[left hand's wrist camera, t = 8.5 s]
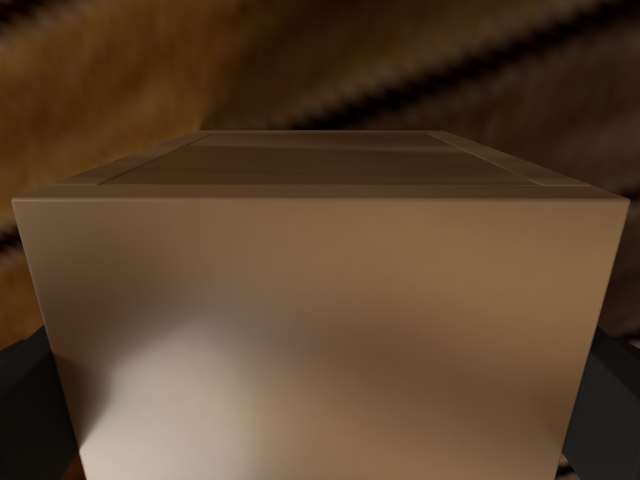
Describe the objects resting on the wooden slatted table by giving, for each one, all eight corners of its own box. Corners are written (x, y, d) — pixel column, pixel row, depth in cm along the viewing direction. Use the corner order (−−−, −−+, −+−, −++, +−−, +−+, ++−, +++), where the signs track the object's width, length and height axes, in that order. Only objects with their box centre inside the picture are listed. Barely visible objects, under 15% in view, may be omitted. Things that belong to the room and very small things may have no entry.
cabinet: (410, 456, 25) (481, 749, 14) (229, 456, 25) (157, 748, 14) (444, 130, 18) (633, 199, 7) (196, 129, 18) (7, 197, 7)
